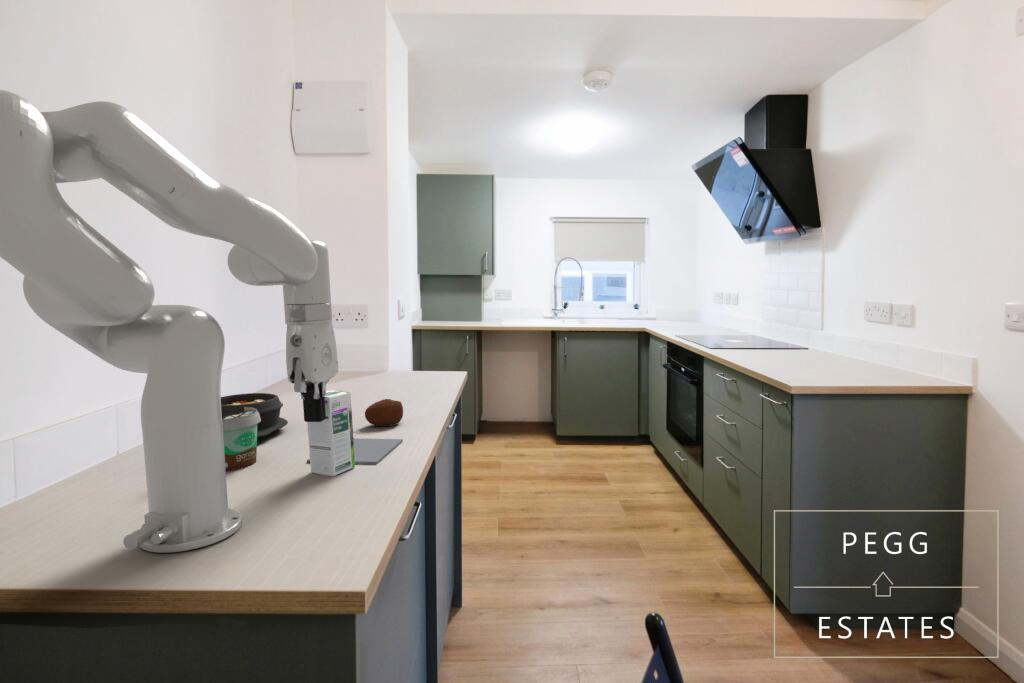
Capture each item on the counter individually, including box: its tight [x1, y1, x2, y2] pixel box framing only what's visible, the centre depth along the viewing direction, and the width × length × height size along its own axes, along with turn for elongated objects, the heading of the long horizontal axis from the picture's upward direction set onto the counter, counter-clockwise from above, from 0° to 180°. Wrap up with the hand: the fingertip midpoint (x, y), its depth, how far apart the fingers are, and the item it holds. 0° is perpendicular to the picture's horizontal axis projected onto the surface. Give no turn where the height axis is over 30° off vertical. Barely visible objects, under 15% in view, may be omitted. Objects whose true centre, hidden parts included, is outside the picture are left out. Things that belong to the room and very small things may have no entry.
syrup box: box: [306, 390, 356, 477], centre depth 107 cm, size 6×6×14 cm
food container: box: [222, 407, 261, 472], centre depth 111 cm, size 12×6×10 cm, turn 168°
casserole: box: [221, 392, 289, 439], centre depth 135 cm, size 25×19×8 cm
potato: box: [364, 398, 404, 427], centre depth 141 cm, size 7×9×6 cm
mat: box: [306, 437, 404, 465], centre depth 119 cm, size 16×14×1 cm
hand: (315, 420), depth 100 cm, fingers closed
